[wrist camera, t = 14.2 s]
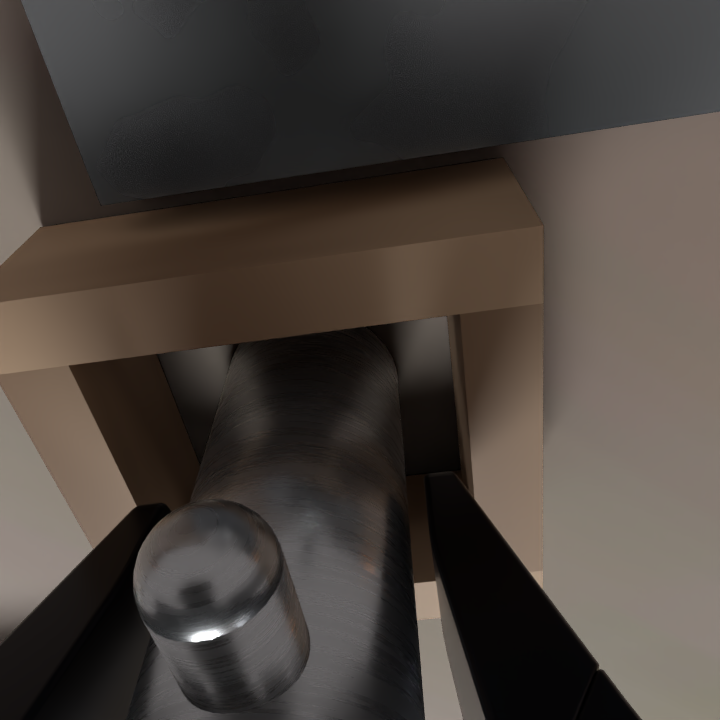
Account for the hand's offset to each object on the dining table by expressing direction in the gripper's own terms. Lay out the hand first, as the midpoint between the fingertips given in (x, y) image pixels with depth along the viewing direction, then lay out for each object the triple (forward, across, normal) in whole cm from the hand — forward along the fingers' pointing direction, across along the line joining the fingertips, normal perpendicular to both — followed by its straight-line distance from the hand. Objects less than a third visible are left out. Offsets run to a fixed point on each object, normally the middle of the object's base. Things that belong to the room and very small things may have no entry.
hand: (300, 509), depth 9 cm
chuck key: (+3, 0, 0) cm, 3 cm away
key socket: (+3, 0, 0) cm, 3 cm away
